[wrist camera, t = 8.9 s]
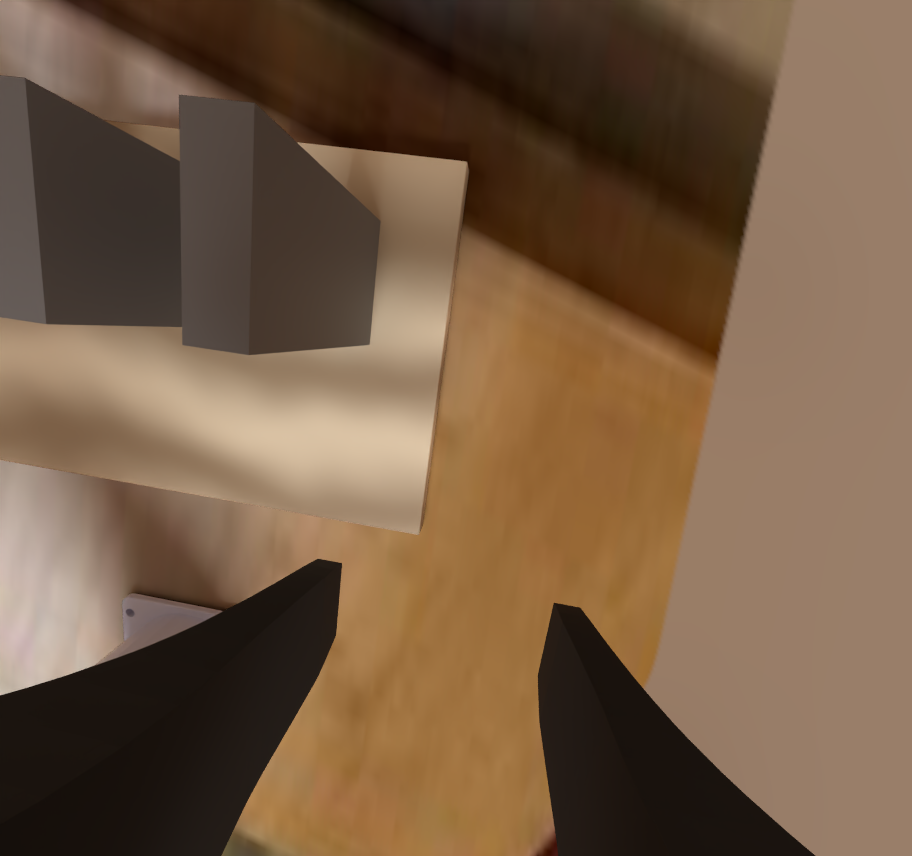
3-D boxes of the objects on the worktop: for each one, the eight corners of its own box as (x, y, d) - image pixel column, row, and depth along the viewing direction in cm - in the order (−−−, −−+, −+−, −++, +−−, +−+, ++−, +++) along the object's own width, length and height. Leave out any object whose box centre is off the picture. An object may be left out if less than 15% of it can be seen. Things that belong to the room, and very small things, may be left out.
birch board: (422, 525, 21) (418, 534, 20) (-113, 430, 23) (-140, 434, 22) (469, 171, 17) (467, 161, 16) (-174, 97, 19) (-209, 84, 18)
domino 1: (263, 206, 17) (24, 77, 9) (259, 328, 19) (45, 324, 10) (226, 201, 18) (-46, 70, 9) (225, 323, 19) (-16, 314, 10)
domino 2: (380, 221, 17) (254, 102, 8) (369, 344, 18) (248, 355, 9) (342, 216, 17) (178, 94, 8) (334, 339, 18) (182, 345, 10)
